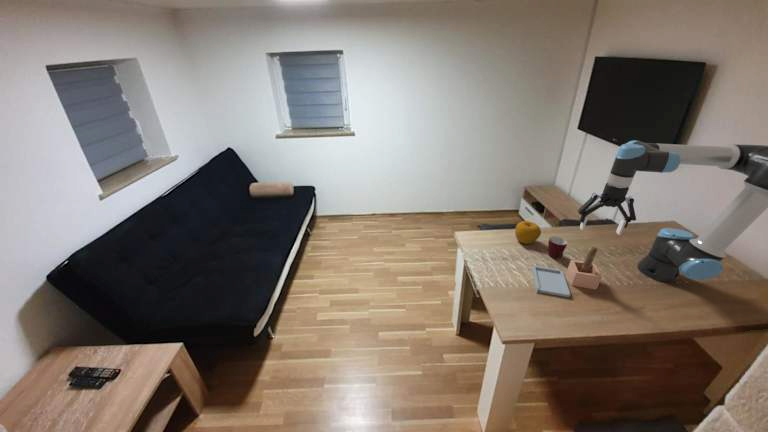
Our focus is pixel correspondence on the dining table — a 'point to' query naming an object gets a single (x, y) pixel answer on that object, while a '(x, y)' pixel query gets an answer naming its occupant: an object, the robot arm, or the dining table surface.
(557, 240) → the mug
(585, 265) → the dowel
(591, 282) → the pink open square box
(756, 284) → the dining table surface
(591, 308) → the dining table surface
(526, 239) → the apple
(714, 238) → the robot arm
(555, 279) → the tray
